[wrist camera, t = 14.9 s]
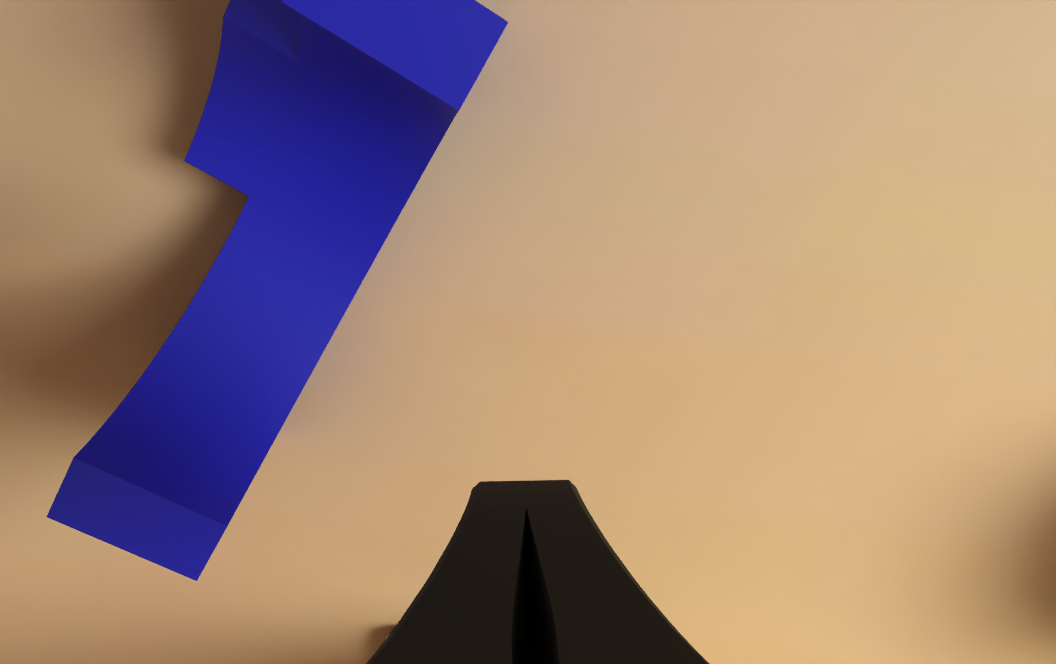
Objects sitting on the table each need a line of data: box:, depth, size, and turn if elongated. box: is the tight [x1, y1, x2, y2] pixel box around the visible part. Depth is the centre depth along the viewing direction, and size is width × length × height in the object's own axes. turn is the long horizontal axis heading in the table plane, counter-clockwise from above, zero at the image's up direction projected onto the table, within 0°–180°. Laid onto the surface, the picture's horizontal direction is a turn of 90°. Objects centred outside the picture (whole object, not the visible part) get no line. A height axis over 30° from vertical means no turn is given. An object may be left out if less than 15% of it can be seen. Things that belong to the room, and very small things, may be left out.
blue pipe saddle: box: [47, 0, 508, 581], centre depth 16 cm, size 12×4×6 cm, turn 149°
